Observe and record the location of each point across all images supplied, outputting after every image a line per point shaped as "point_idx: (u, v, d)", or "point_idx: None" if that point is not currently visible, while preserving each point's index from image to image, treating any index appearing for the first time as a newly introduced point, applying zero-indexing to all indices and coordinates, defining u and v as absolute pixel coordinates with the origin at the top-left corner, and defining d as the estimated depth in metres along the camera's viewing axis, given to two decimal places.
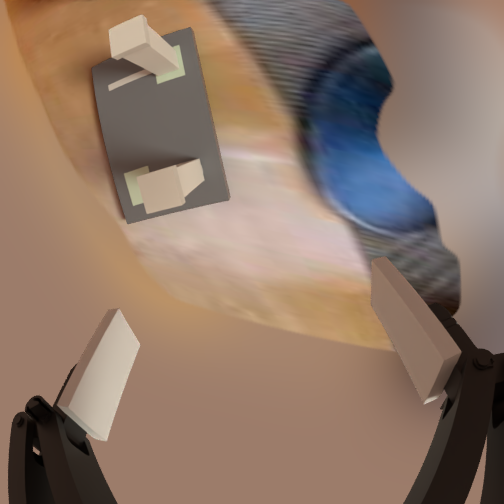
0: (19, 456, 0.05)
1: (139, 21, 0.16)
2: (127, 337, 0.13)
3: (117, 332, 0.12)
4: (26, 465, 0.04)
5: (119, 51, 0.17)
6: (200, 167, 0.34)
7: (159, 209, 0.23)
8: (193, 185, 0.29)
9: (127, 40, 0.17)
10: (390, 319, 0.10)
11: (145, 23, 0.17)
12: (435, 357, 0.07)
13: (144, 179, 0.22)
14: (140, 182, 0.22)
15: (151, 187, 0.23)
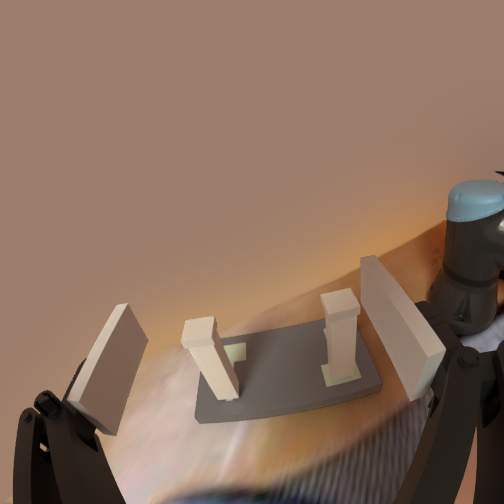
0: (25, 453, 0.05)
1: (352, 306, 0.27)
2: (136, 332, 0.13)
3: (126, 327, 0.12)
4: (32, 462, 0.05)
5: (324, 298, 0.29)
6: (229, 396, 0.33)
7: (184, 327, 0.30)
8: (206, 374, 0.31)
9: (333, 301, 0.28)
10: (378, 317, 0.11)
11: (352, 313, 0.27)
12: (420, 354, 0.07)
13: (210, 320, 0.30)
14: (209, 317, 0.31)
15: (202, 324, 0.30)
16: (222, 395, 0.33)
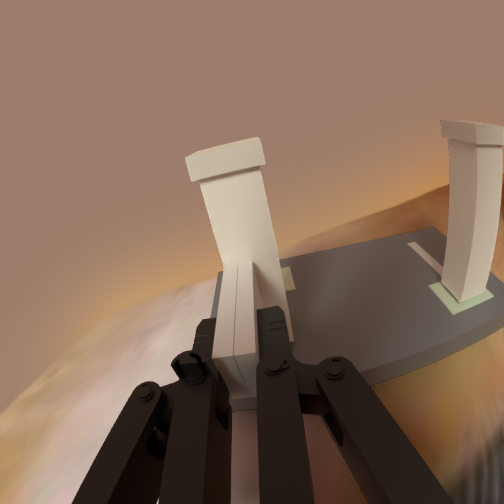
0: (126, 441, 0.06)
1: (496, 125, 0.10)
2: None
3: None
4: (132, 457, 0.06)
5: (450, 120, 0.12)
6: None
7: (196, 152, 0.14)
8: None
9: (467, 121, 0.11)
10: None
11: (499, 136, 0.10)
12: None
13: (250, 139, 0.14)
14: (247, 139, 0.15)
15: (234, 142, 0.14)
16: None
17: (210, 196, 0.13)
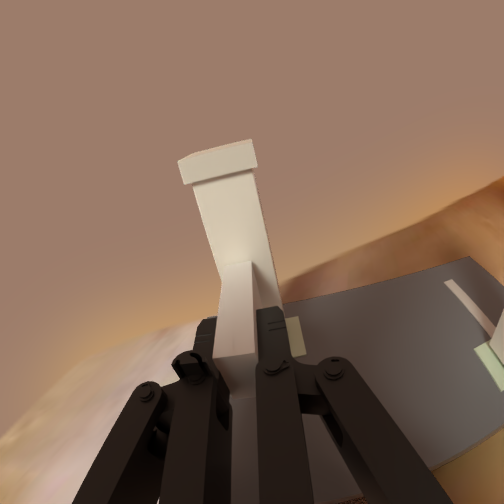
0: (126, 441, 0.06)
1: None
2: None
3: None
4: (132, 457, 0.06)
5: None
6: None
7: (189, 155, 0.14)
8: None
9: None
10: None
11: None
12: None
13: (244, 141, 0.14)
14: (241, 141, 0.15)
15: (227, 145, 0.14)
16: None
17: (203, 199, 0.13)
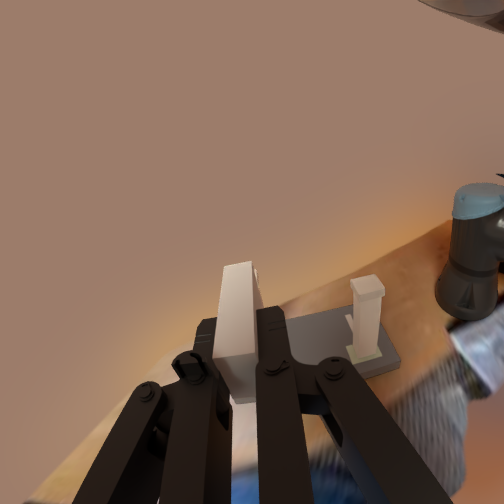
0: (127, 441, 0.06)
1: (378, 288, 0.31)
2: None
3: None
4: (132, 457, 0.06)
5: (354, 282, 0.34)
6: None
7: None
8: None
9: (362, 285, 0.33)
10: None
11: (378, 294, 0.31)
12: None
13: None
14: None
15: None
16: None
17: None
